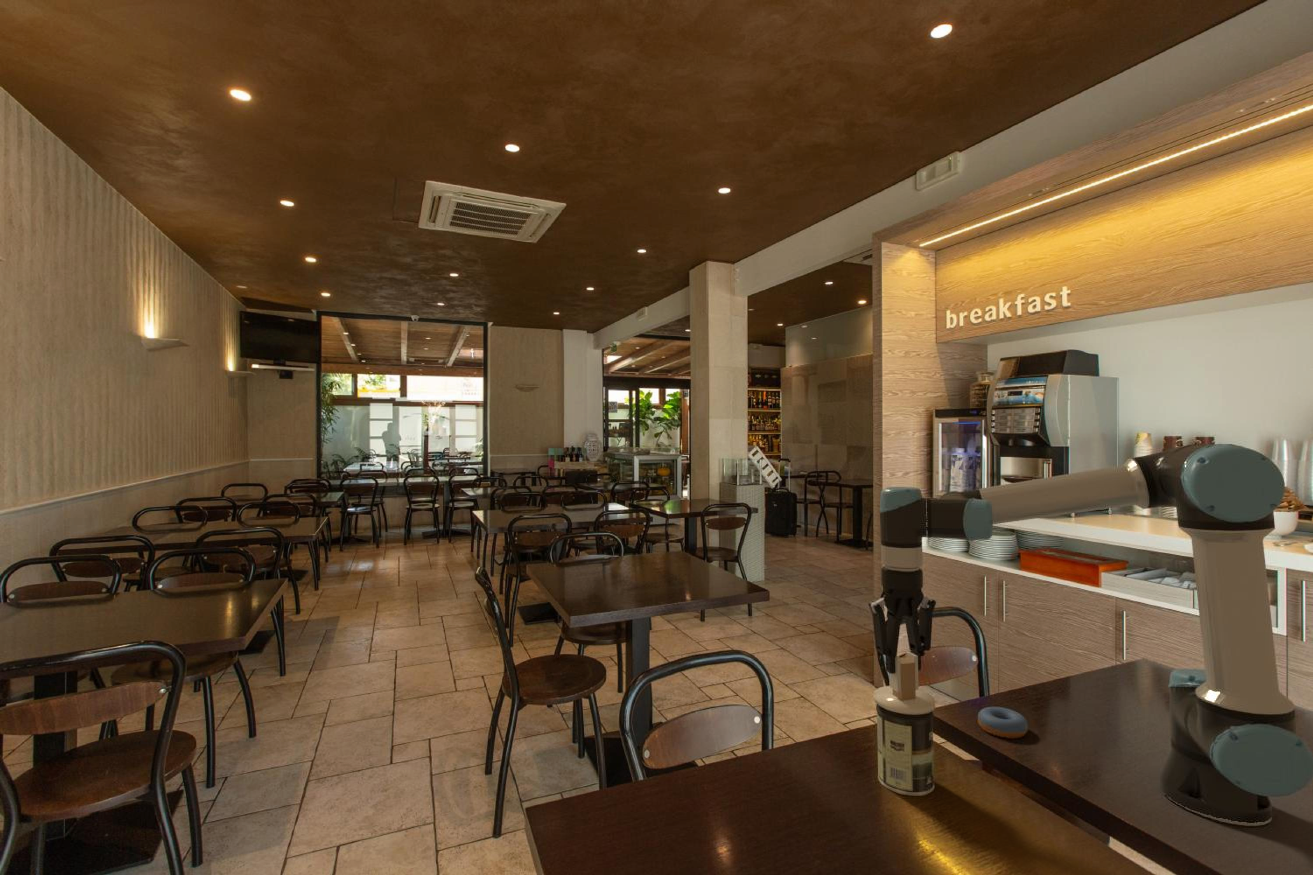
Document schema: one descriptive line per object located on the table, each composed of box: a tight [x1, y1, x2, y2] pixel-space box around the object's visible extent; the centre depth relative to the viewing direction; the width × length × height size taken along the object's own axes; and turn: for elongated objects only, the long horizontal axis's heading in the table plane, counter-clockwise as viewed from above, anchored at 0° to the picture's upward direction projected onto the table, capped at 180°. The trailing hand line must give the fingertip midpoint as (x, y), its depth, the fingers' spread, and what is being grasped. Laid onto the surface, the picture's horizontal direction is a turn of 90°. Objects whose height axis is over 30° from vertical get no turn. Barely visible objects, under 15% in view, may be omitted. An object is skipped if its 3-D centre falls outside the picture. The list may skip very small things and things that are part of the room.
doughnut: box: [977, 706, 1029, 739], centre depth 141 cm, size 10×10×5 cm
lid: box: [873, 656, 936, 715], centre depth 120 cm, size 11×11×8 cm
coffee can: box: [875, 703, 935, 797], centre depth 120 cm, size 10×10×14 cm
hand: (903, 687), depth 120 cm, fingers closed on lid, 3 cm apart
